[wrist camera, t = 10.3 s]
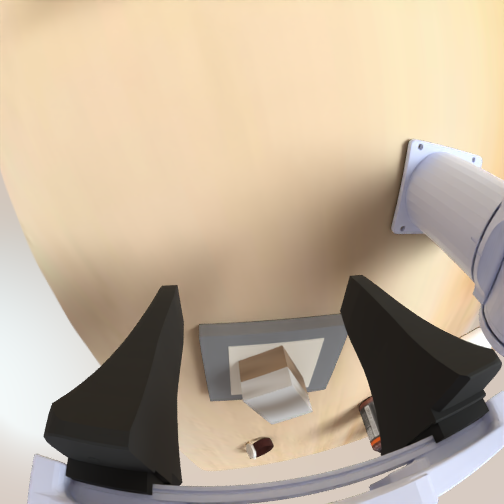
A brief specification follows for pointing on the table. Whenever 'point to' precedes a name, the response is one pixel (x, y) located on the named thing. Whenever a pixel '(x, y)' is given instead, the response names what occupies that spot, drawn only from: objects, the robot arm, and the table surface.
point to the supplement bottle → (371, 423)
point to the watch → (259, 448)
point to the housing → (274, 386)
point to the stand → (266, 338)
